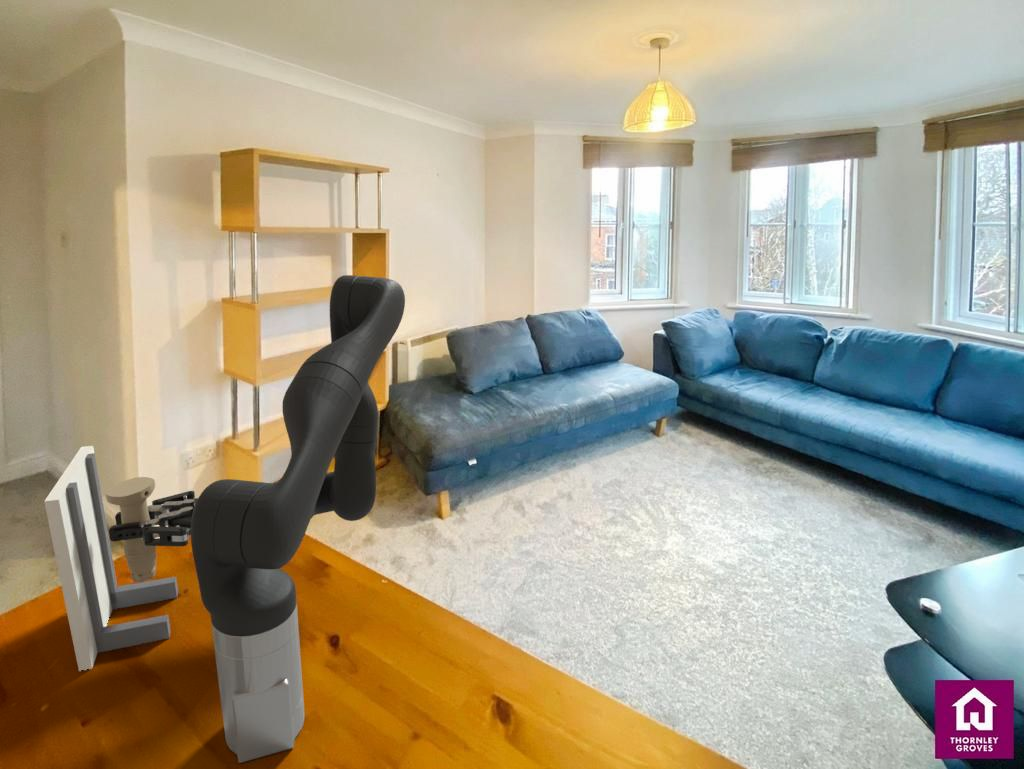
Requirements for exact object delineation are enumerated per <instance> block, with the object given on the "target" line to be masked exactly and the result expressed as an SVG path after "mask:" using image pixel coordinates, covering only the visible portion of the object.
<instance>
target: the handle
mask: <svg viewBox="0 0 1024 769" xmlns="http://www.w3.org/2000/svg"><path fill="white" fill-rule="evenodd" d="M155 482H156V481H155V479H154V478H151V477H146V476H145V477H144V476H139V477H137V476H136V477H133V478H129V479H127V480H123V481H121V482H118V483H117V484H115V485H113V486H111V487H109V489H108V490H107V491H106V493H105V499H106V501H107V502H108V503H109V504H111V505H113V506H114V505H116V506H119V510H120V511H119V512H121V521H122V524H127V523H134V522H140V523H141V522H143V521H148V520H150V517H149V512H148V507H147V506H148V502H147V501H148V500H147V499H148V498H149V497H150V496H151V495H152V494H153V492H154V491H155V488H156V483H155ZM122 542H123V543H122V544H123V551H124V556H125V560H126V563H127V566H128V570H129V572H131V574H130V578H131V580H132V582H134V583H136V582H137V583H141V582H147V581H150V580H152V579H154V578H155V576H156V572H157V548H156V547H157V546H146V545H145V544H144V540H142V538H135V539H128V540H122Z"/></svg>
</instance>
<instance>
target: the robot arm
mask: <svg viewBox="0 0 1024 769" xmlns="http://www.w3.org/2000/svg"><path fill="white" fill-rule="evenodd" d="M405 307H406V296H405V291H404V289H403V287H402V285H401V284H400V283H399V282H397V281H395V280H394V279H391V278H385V277H377V276H363V275H349V274H343V275H341V276H338V277H337V279H336V280H335V281H334V283H333V285H332V288H331V292H330V298H329V325H330V327H329V328H330V341H331V342H330V343H328V344H327V345H325V346H324V347H320V349H318V350H317V351H315V352H313V353H312V354H311V355H310V356H309V357H308V358H307V359H306V360H304V362H303V363H302V365H301V366H300V367H299V369H298V371H297V372H296V373H295V376H294V377H293V378H292V380H291V382H290V384H289V385H288V387H287V389H286V391H285V393H284V396H283V399H282V418H283V422H284V426H285V429H286V433H287V436H288V439H289V445H290V451H291V456H290V459H289V462H288V465H287V467H286V469H285V471H284V473H283V475H282V476H281V478H280V479H278V481H276V482H263V481H262V482H261V481H252V480H242V479H230V478H229V479H228V478H225V479H218V480H216V481H214V482H212V483H210V484H209V485H207V486H206V487H205V488H204V489H203V490H202V492H201V493H200V495H198V497H197V498H196V494H195V491H194V490H188V491H183V492H181V493H177V494H173V495H169V496H165V497H162V498H157V499H153V500H152V501H151V503H152V504H151V505H147V507H148V512H149V517H150V520H148V521H143V522H141V523H140V522H134V523H127V524H122V521H121V511H118V512H117V513H116V514H115V516H114V519H115V524H113V525H111V526H110V527H109V529H108V534H109V540H110V542H118V541H119V542H120V541H123V540H128V539H135V538H142V540H144V544H145V545H146V546H156V547H186V546H187V545H188V544H189V537H190V545H191V551H192V556H193V562H194V567H195V571H196V572H195V573H196V576H197V582H198V588H199V592H200V597H201V598H200V599H201V601H202V604H203V606H204V608H205V609H206V611H207V612H208V613H209V615H210V622H211V629H212V630H211V631H212V638H213V647H214V648H213V649H214V656H215V663H216V670H217V671H216V672H217V681H218V688H219V689H218V690H219V697H220V705H221V715H222V720H223V721H222V722H223V728H224V735H225V736H224V737H225V742H226V745H227V747H228V748H229V749H230V751H231V752H233V753H234V754H235V755H237V762H238V763H239V764H240V763H244V762H248V761H251V760H255V759H259V758H262V757H265V756H270V755H272V754H276V753H280V752H283V751H286V750H290V749H293V748H294V747H295V740H296V738H297V736H298V735H299V733H300V732H301V730H302V728H303V726H304V723H305V702H304V701H305V699H304V688H303V674H302V672H303V671H302V659H301V646H300V632H299V630H300V629H299V616H298V605H297V604H298V603H297V602H298V601H297V590H296V584H295V581H294V580H293V578H292V577H291V575H290V574H288V573H287V572H286V571H284V569H283V570H282V569H281V568H283V567H285V566H286V565H287V564H288V563H290V562H291V560H292V558H294V556H295V555H296V553H297V551H298V550H299V547H300V546H301V544H302V542H303V540H304V538H305V534H306V532H307V530H308V527H309V524H310V521H311V520H312V519H313V517H314V516H316V515H321V514H324V513H331V512H334V513H335V514H336V515H337V516H338V517H339V518H341V519H342V520H344V521H350V522H354V521H355V522H356V521H360V520H362V519H364V518H365V517H366V516H368V515H369V513H370V512H371V510H372V509H373V507H374V505H375V503H376V502H375V501H376V495H377V475H376V474H377V472H376V471H377V470H376V469H377V468H376V448H377V439H378V438H377V437H378V426H379V425H378V424H379V410H378V403H377V400H376V397H375V394H374V392H373V390H372V388H371V386H370V384H369V380H370V378H371V376H372V374H373V373H374V372H373V371H374V369H375V368H376V366H377V363H378V361H379V359H380V358H381V356H382V355H383V354H384V351H386V348H387V346H388V345H389V344H390V342H391V341H392V340H393V337H394V336H395V334H396V333H397V330H398V328H399V327H400V324H401V322H402V319H403V315H404V312H405ZM333 459H334V466H333V467H334V468H333V471H330V472H328V471H329V468H330V466H331V464H332V461H333Z"/></svg>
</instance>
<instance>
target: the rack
mask: <svg viewBox="0 0 1024 769" xmlns="http://www.w3.org/2000/svg"><path fill="white" fill-rule="evenodd" d="M96 459H97V458H96V454H95V449H94V445H86V446H81V447H80V448H79V449H78V451H77V452H76V454H75V456H74V457H73V458H72V460H71V462H70V463H69V464H68V466H67V467H66V468H65V470H64V472H63V473H62V474H61V476H60V478H59V479H58V480H57V482H56V483H55V485H54V486H53V488H52V489H51V491H50V492H49V494H48V495H47V497H46V498H45V499H44V505H45V506H44V507H45V511H46V512H45V513H46V517H47V522H48V526H49V532H50V537H51V540H52V541H51V542H52V545H53V546H52V547H53V551H54V556H55V560H56V566H57V571H58V575H59V579H60V580H59V581H60V585H61V590H62V594H63V595H62V596H63V600H64V606H65V609H66V613H67V614H66V615H67V620H68V624H69V628H70V635H71V639H72V643H73V644H72V645H73V647H74V648H73V649H74V653H75V654H74V655H75V658H76V663H77V667H78V672H82V671H81V670H84V671H88V670H87V669H89V670H92V669H93V666H94V664H95V662H96V658H97V655H98V654H99V653H104V652H109V651H113V650H119V649H123V648H124V649H125V648H129V647H134V646H138V645H143V643H144V644H148V642H149V643H153V641H154V642H158V641H157V640H159V641H163V639H164V640H168V639H170V637H171V625H170V617H169V614H164V615H159V616H154V617H149V618H143V619H137V620H133V621H126V622H123V623H117V624H112V625H108V624H109V621H108V620H110V618H109V617H111V614H112V612H113V610H118V608H119V609H122V608H123V609H125V608H128V607H134V606H140V605H145V604H146V605H147V604H150V603H152V604H153V603H156V602H157V603H158V602H161V601H167V600H172V599H173V600H174V599H177V598H178V596H179V595H178V594H179V588H178V582H177V581H178V580H177V576H173V577H172V576H170V577H165V578H160V579H155V580H152V579H151V580H146V581H144V582H134V583H129V584H125V585H118V583H117V576H116V575H117V574H116V570H115V565H114V564H115V563H114V559H113V553H112V546H111V540H110V535H109V529H108V525H107V524H108V523H107V518H106V512H105V507H104V502H103V494H102V488H101V483H100V477H99V472H98V467H97V460H96ZM107 623H108V624H107Z"/></svg>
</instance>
